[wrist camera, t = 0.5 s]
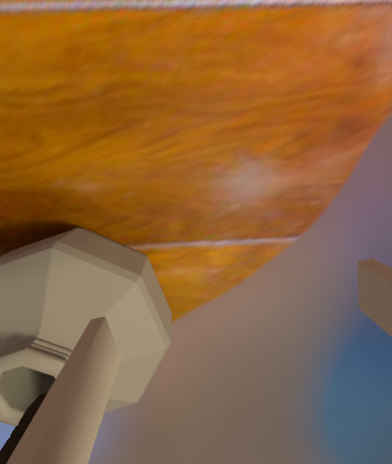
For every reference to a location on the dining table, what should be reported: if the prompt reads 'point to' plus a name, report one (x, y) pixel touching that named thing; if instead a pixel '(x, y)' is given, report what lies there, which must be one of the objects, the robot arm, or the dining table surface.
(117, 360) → the robot arm
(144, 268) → the pot
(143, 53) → the dining table surface
